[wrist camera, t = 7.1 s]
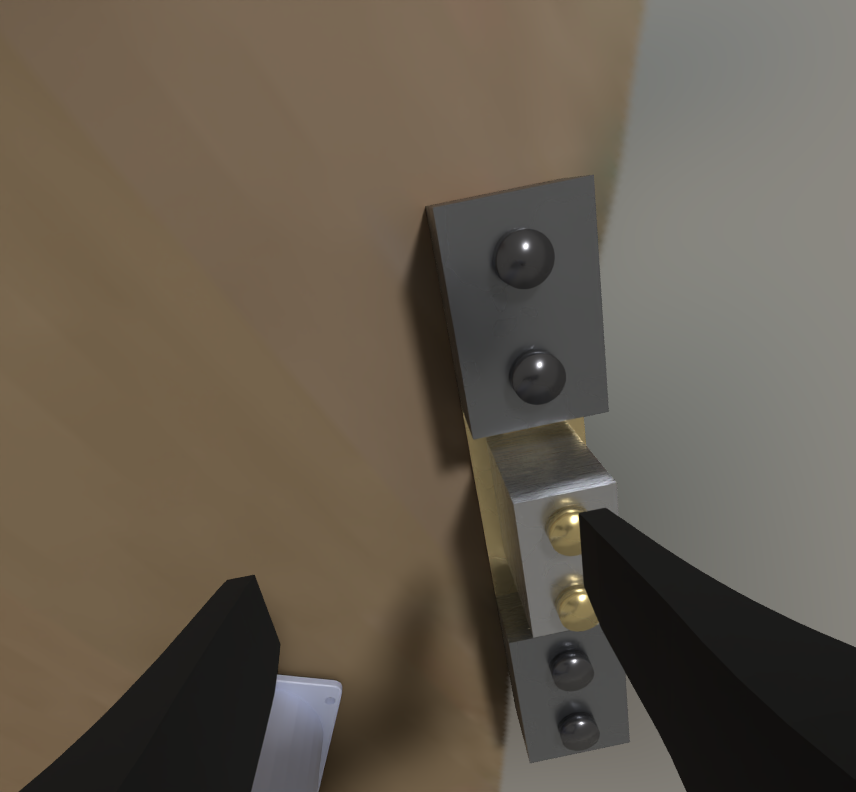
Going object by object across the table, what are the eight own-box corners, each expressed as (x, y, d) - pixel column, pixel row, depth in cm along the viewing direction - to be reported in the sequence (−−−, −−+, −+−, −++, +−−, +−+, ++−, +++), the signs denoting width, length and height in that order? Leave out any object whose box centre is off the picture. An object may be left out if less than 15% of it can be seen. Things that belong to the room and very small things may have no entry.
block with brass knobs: (577, 536, 24) (631, 631, 19) (504, 552, 24) (537, 650, 19) (566, 421, 22) (624, 492, 16) (485, 438, 22) (518, 514, 16)
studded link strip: (605, 687, 28) (635, 754, 24) (515, 706, 28) (533, 776, 24) (562, 178, 18) (601, 173, 15) (425, 206, 18) (434, 208, 15)
